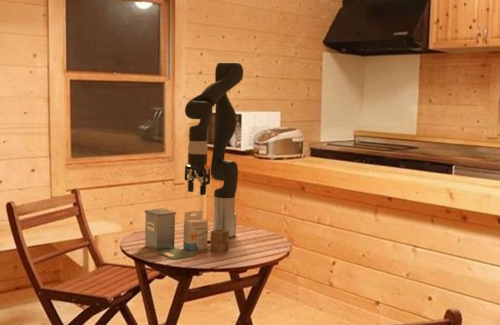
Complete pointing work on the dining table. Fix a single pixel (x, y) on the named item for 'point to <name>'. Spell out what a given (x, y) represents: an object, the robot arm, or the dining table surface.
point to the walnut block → (219, 241)
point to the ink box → (195, 231)
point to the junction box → (160, 229)
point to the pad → (175, 253)
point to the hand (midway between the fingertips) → (196, 193)
